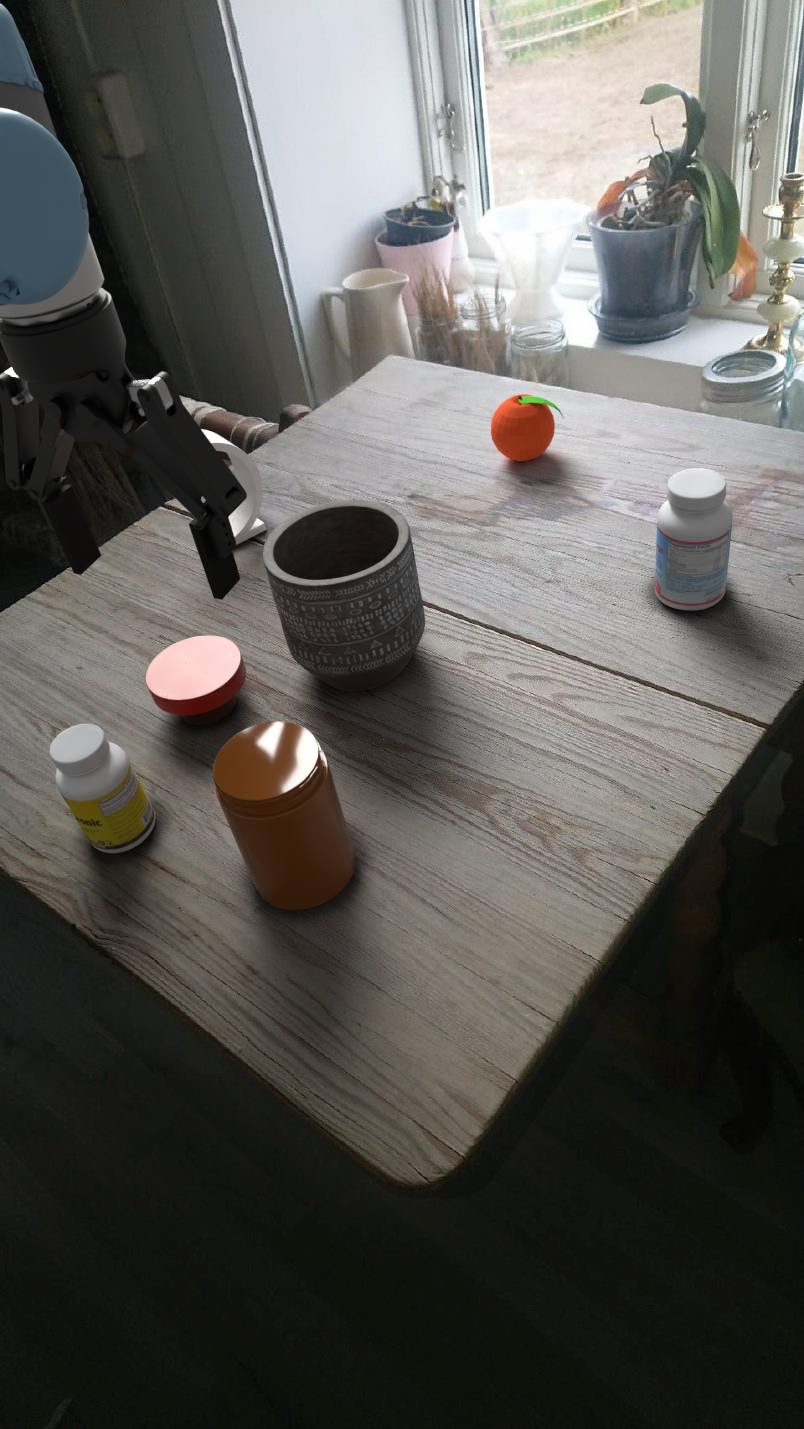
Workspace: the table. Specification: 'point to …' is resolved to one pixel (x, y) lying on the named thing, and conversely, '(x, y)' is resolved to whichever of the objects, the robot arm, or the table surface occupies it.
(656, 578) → the pill bottle
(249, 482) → the headphone stand
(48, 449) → the robot arm
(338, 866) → the jam jar
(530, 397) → the clementine
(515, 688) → the table surface
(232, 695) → the jam lid
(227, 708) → the stand
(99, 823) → the supplement bottle
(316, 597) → the planter
